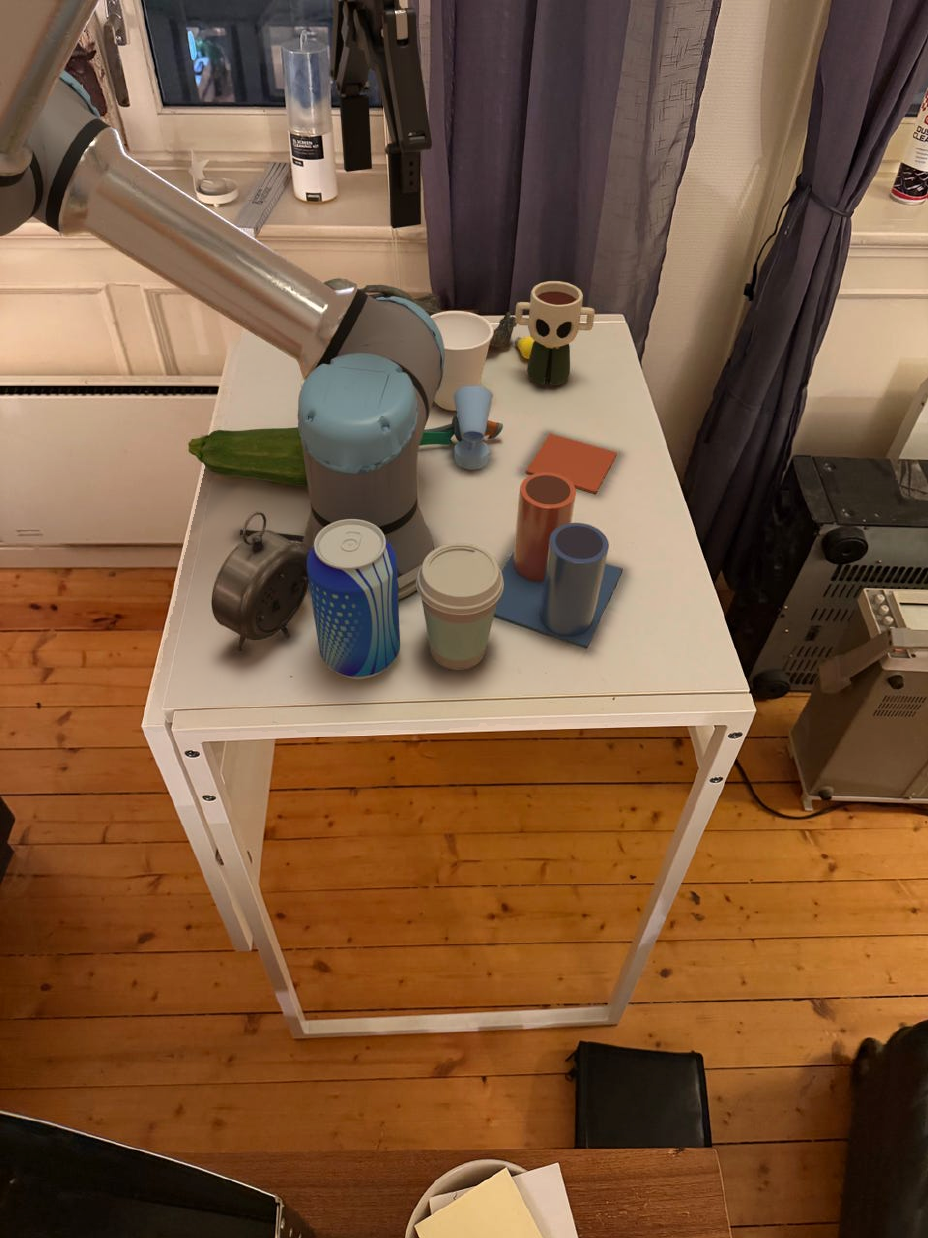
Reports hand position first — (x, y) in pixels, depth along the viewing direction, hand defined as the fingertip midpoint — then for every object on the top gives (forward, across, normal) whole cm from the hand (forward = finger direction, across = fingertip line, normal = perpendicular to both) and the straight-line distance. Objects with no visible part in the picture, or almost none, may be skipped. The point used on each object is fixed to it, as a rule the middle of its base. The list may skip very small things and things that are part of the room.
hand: (380, 195), depth 83 cm
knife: (+36, +6, -7) cm, 37 cm away
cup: (+36, +15, -15) cm, 42 cm away
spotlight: (+36, +2, -12) cm, 38 cm away
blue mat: (+36, -24, -11) cm, 44 cm away
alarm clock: (+36, -18, +20) cm, 45 cm away
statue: (+34, +26, -29) cm, 52 cm away
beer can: (+36, -24, +13) cm, 45 cm away
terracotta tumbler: (+36, -20, -11) cm, 42 cm away
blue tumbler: (+36, -28, -10) cm, 46 cm away
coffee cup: (+36, -28, +3) cm, 46 cm away
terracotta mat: (+36, -4, -24) cm, 43 cm away
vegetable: (+32, +3, +5) cm, 33 cm away
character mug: (+36, +15, -30) cm, 49 cm away
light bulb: (+36, +22, -28) cm, 51 cm away
